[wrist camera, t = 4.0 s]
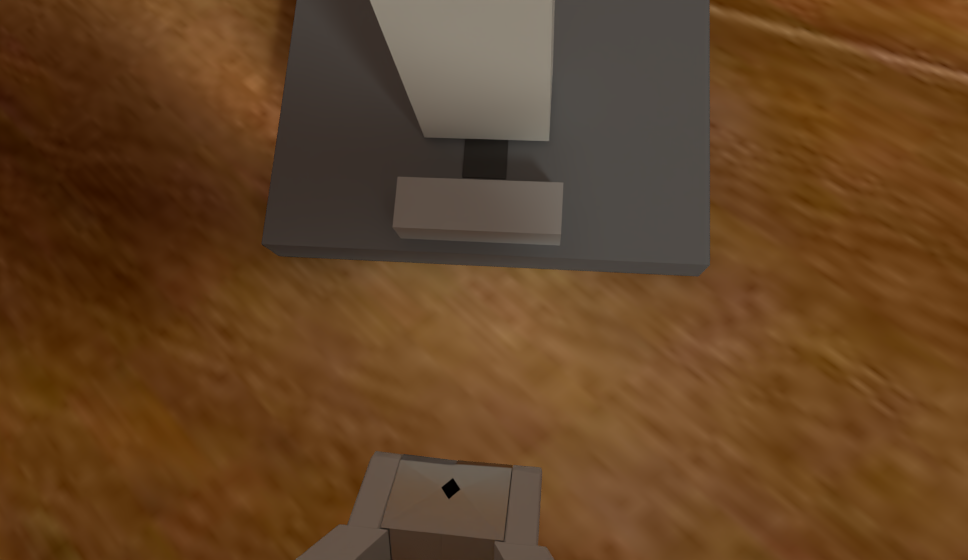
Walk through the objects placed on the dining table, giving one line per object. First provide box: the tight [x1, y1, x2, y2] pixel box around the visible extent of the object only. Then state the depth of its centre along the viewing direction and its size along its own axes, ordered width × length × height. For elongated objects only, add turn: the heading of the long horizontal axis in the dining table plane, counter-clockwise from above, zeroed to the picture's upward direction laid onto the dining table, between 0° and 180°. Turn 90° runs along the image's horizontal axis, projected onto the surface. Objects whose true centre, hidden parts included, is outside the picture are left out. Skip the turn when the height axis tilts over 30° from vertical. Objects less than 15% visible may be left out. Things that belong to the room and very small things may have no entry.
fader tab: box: [370, 0, 555, 141], centre depth 17 cm, size 4×3×10 cm, turn 87°
